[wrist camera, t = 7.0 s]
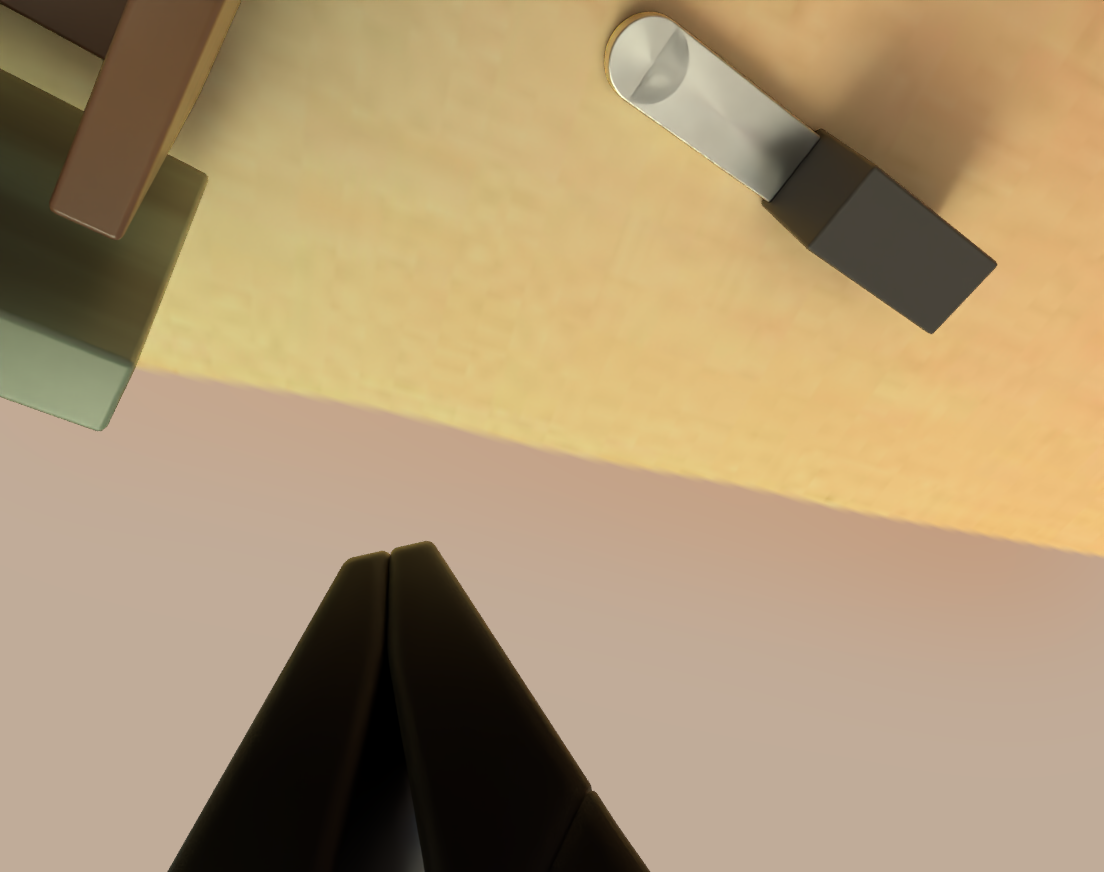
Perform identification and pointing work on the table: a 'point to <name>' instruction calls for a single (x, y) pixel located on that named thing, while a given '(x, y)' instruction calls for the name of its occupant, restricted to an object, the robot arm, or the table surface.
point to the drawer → (97, 199)
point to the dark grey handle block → (797, 172)
